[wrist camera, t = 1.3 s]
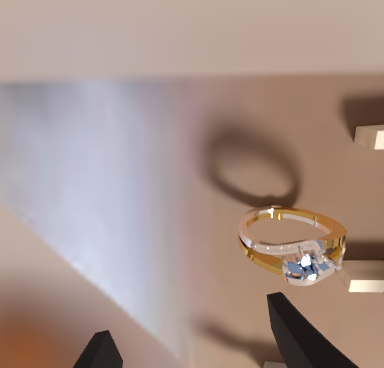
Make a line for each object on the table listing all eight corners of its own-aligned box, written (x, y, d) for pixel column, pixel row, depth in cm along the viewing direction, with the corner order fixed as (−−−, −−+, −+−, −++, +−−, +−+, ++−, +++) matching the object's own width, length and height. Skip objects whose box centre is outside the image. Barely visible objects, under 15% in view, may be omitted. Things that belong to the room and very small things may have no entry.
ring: (320, 193, 20) (384, 251, 12) (313, 227, 21) (369, 299, 13) (235, 190, 20) (247, 244, 13) (233, 223, 22) (243, 291, 14)
